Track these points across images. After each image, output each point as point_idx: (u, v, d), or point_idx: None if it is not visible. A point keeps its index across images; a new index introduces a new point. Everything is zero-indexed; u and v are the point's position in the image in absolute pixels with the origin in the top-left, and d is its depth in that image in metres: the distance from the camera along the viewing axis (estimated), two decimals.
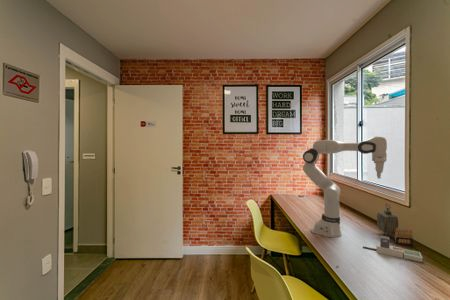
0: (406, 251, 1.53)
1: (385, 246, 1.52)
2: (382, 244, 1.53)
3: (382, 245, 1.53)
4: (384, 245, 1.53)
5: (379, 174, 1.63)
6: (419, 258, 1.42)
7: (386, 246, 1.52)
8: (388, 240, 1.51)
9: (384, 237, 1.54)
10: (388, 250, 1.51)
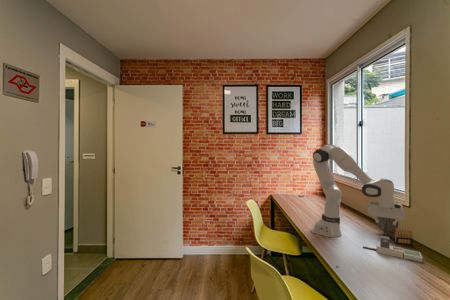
0: (406, 251, 1.53)
1: (385, 246, 1.52)
2: (382, 244, 1.53)
3: (382, 245, 1.53)
4: (384, 245, 1.53)
5: None
6: (419, 258, 1.42)
7: (386, 246, 1.52)
8: (388, 240, 1.51)
9: (384, 237, 1.54)
10: (388, 250, 1.51)
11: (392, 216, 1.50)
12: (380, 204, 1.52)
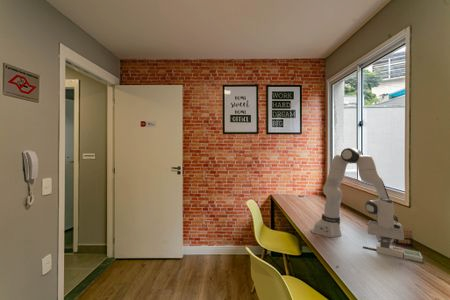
0: (406, 251, 1.53)
1: (385, 246, 1.52)
2: (382, 244, 1.53)
3: (382, 245, 1.53)
4: (384, 245, 1.53)
5: None
6: (419, 258, 1.42)
7: (386, 246, 1.52)
8: (388, 240, 1.51)
9: (384, 237, 1.54)
10: (388, 250, 1.51)
11: (391, 236, 1.51)
12: (380, 223, 1.53)
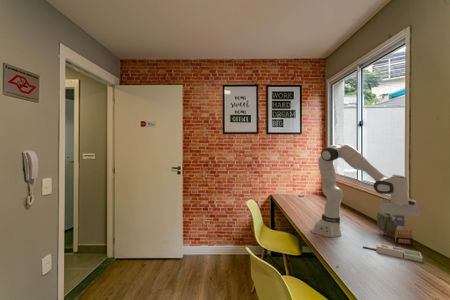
0: (406, 251, 1.53)
1: (400, 224, 1.48)
2: (397, 222, 1.48)
3: (397, 223, 1.48)
4: (399, 223, 1.48)
5: None
6: (419, 258, 1.42)
7: (401, 224, 1.47)
8: (403, 218, 1.47)
9: (398, 215, 1.50)
10: (388, 250, 1.51)
11: (406, 213, 1.46)
12: (393, 201, 1.48)
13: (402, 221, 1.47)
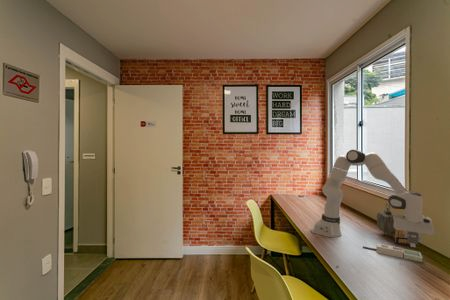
0: (406, 251, 1.53)
1: (414, 241, 1.46)
2: (410, 239, 1.46)
3: (410, 240, 1.46)
4: (412, 240, 1.46)
5: None
6: (419, 258, 1.42)
7: (415, 241, 1.45)
8: (417, 235, 1.45)
9: (412, 232, 1.48)
10: (388, 250, 1.51)
11: (420, 231, 1.44)
12: (408, 218, 1.46)
13: (416, 239, 1.45)
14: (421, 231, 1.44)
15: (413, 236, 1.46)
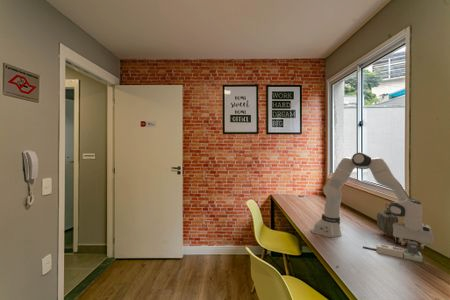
0: (406, 251, 1.53)
1: (413, 252, 1.46)
2: (410, 250, 1.46)
3: (410, 251, 1.46)
4: (412, 251, 1.46)
5: None
6: (419, 258, 1.42)
7: (414, 252, 1.45)
8: (417, 246, 1.45)
9: (412, 242, 1.48)
10: (388, 250, 1.51)
11: (420, 239, 1.44)
12: (407, 226, 1.46)
13: (416, 249, 1.45)
14: (420, 239, 1.44)
15: (413, 246, 1.46)
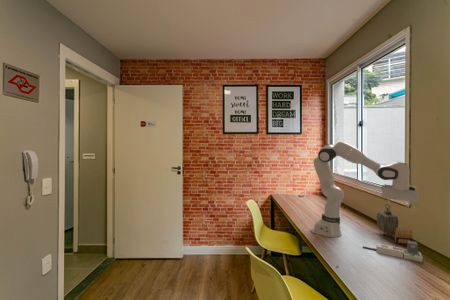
0: (406, 251, 1.53)
1: (413, 252, 1.46)
2: (410, 250, 1.46)
3: (410, 251, 1.46)
4: (412, 251, 1.46)
5: None
6: (419, 258, 1.42)
7: (414, 252, 1.45)
8: (416, 245, 1.45)
9: (411, 242, 1.48)
10: (388, 250, 1.51)
11: (406, 198, 1.53)
12: (395, 186, 1.55)
13: (415, 249, 1.45)
14: (406, 199, 1.53)
15: (412, 246, 1.46)
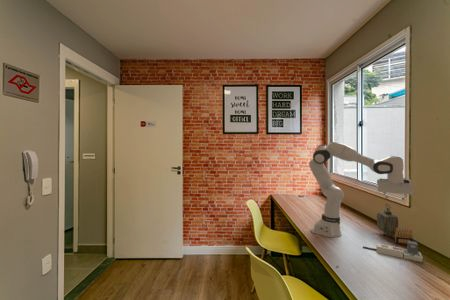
0: (406, 251, 1.53)
1: (413, 252, 1.46)
2: (410, 250, 1.46)
3: (410, 251, 1.46)
4: (412, 251, 1.46)
5: None
6: (419, 258, 1.42)
7: (414, 252, 1.45)
8: (416, 245, 1.45)
9: (411, 242, 1.48)
10: (388, 250, 1.51)
11: (401, 191, 1.56)
12: (390, 180, 1.58)
13: (415, 249, 1.45)
14: (402, 191, 1.56)
15: (412, 246, 1.46)
